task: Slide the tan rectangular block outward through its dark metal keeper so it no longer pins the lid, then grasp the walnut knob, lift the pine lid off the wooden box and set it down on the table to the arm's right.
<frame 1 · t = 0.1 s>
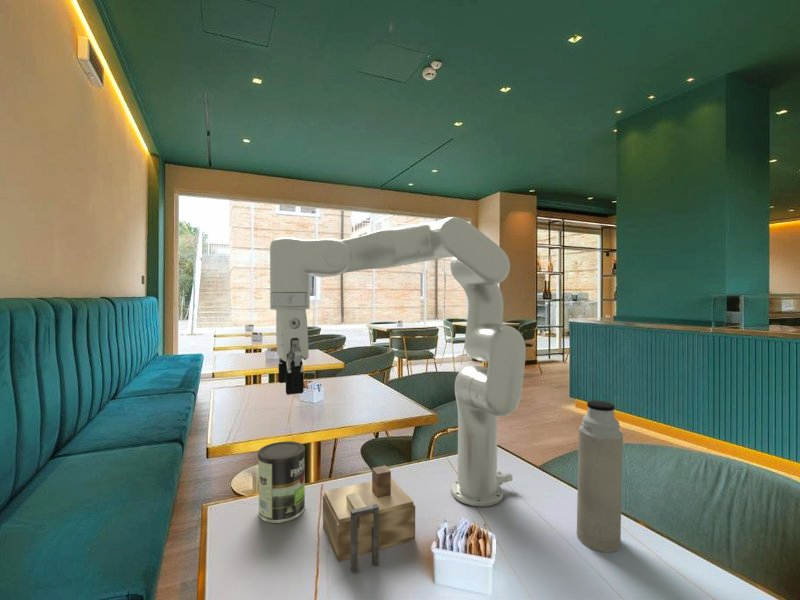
hand: (290, 387, 80), 31 cm above the table, fingers open, 9 cm apart
tan rectangular block: (358, 509, 76), point 9 cm above the table, slide at 0.0 cm
wooden box: (367, 533, 83), on the table
coffee can: (282, 511, 92), on the table
thermos bottle: (598, 540, 82), on the table
lid: (367, 499, 83), point 7 cm above the table, touching wooden box
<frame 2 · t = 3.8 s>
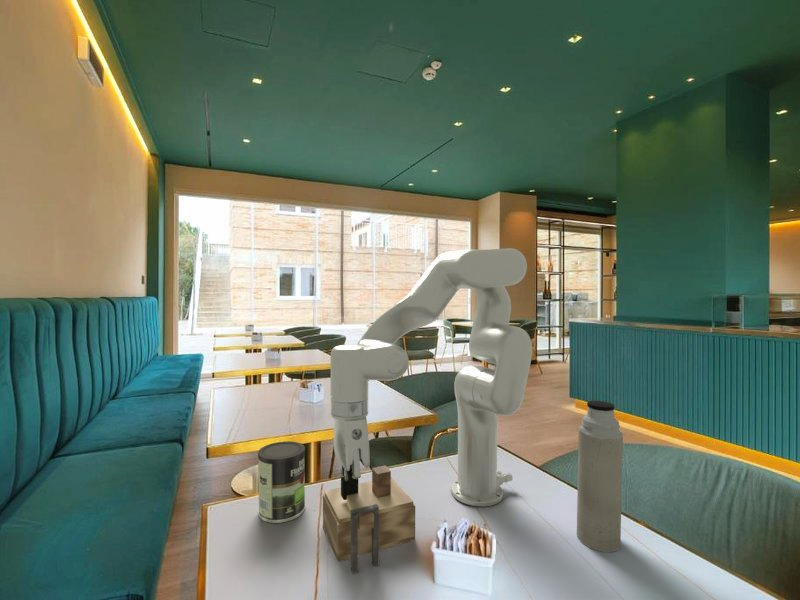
hand: (349, 496, 81), 9 cm above the table, fingers closed
tan rectangular block: (359, 510, 76), point 9 cm above the table, slide at 0.3 cm, touching gripper
everything else where it was.
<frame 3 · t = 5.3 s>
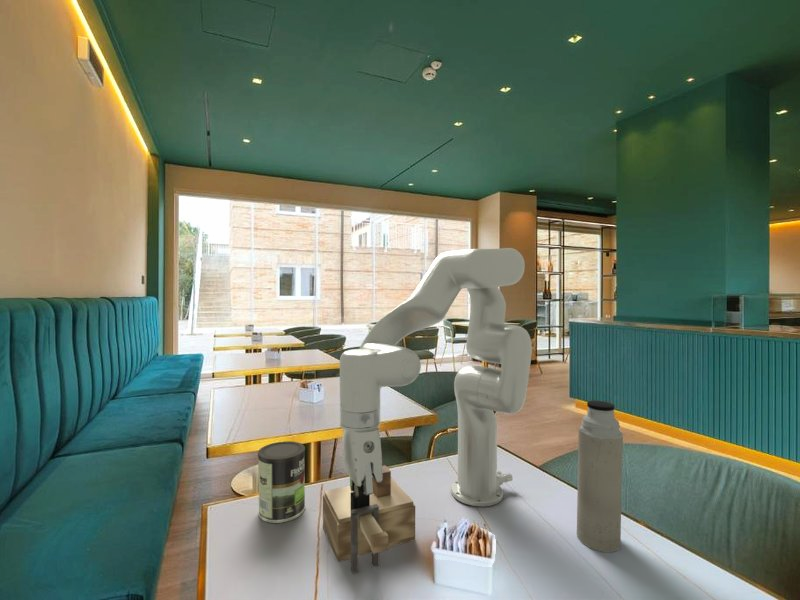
hand: (360, 513, 75), 9 cm above the table, fingers closed
tan rectangular block: (371, 529, 70), point 9 cm above the table, slide at 6.9 cm, touching gripper
everything else where it was.
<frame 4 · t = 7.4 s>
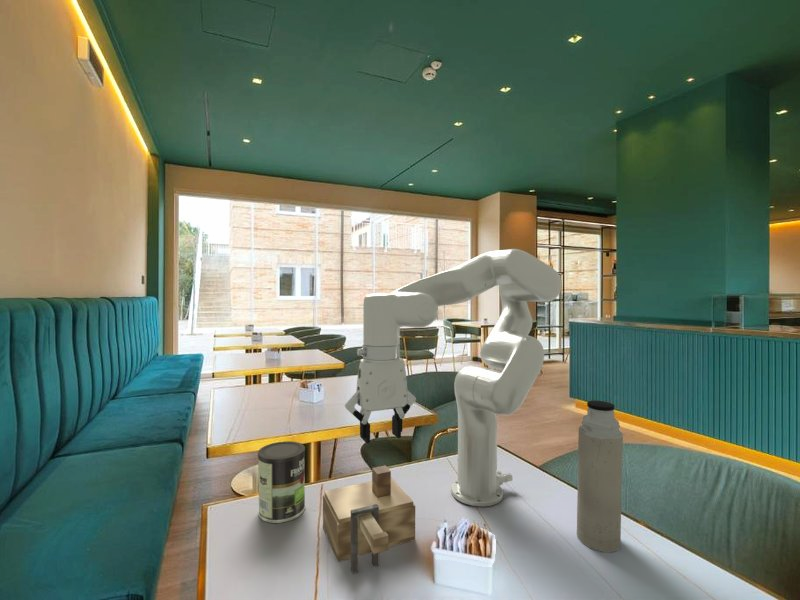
hand: (381, 437, 84), 20 cm above the table, fingers open, 6 cm apart
tan rectangular block: (371, 529, 70), point 9 cm above the table, slide at 6.9 cm
everything else where it was.
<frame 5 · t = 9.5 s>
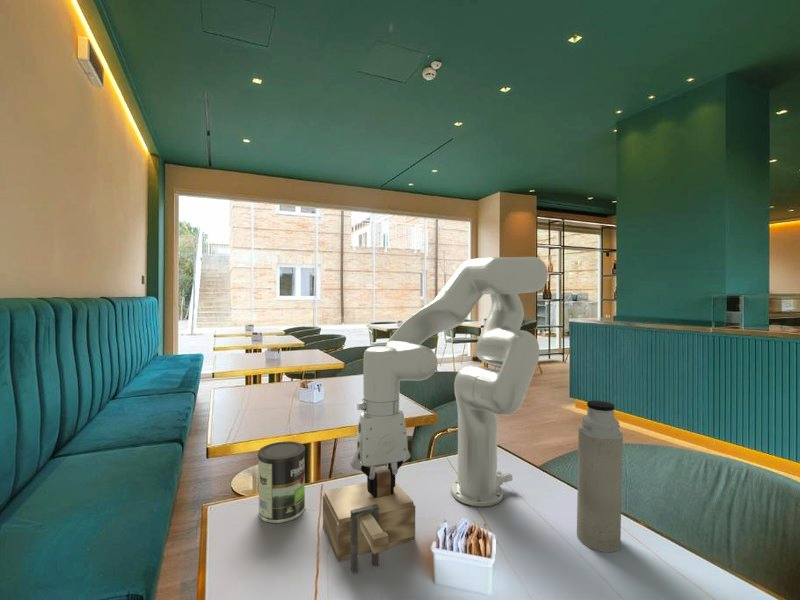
hand: (381, 492, 84), 8 cm above the table, fingers closed on lid, 3 cm apart
lid: (367, 499, 83), point 7 cm above the table, touching gripper, wooden box
everything else where it was.
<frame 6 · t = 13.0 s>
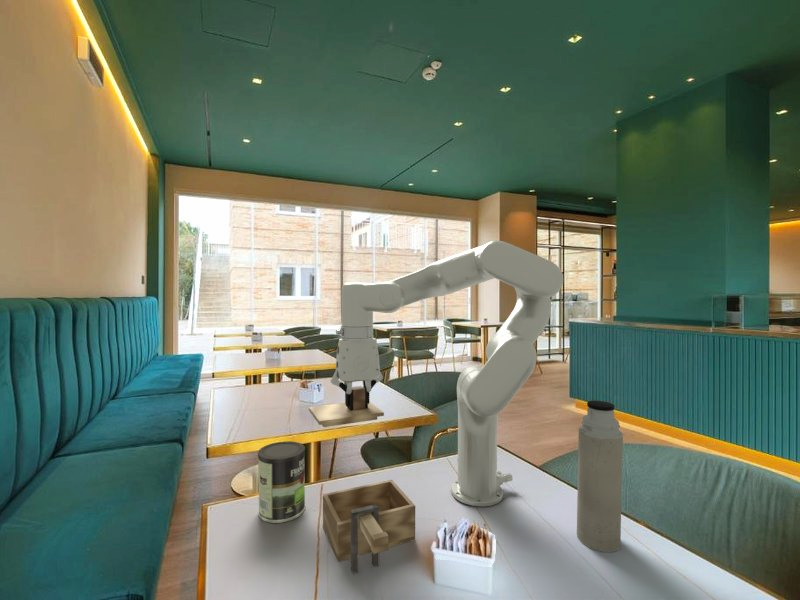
hand: (357, 407, 98), 22 cm above the table, fingers closed on lid, 3 cm apart
lid: (345, 413, 97), point 21 cm above the table, touching gripper
everything else where it was.
when the fingers open (4 cm above the table, at t = 16.5 s): lid drops 2 cm, point 1 cm above the table.
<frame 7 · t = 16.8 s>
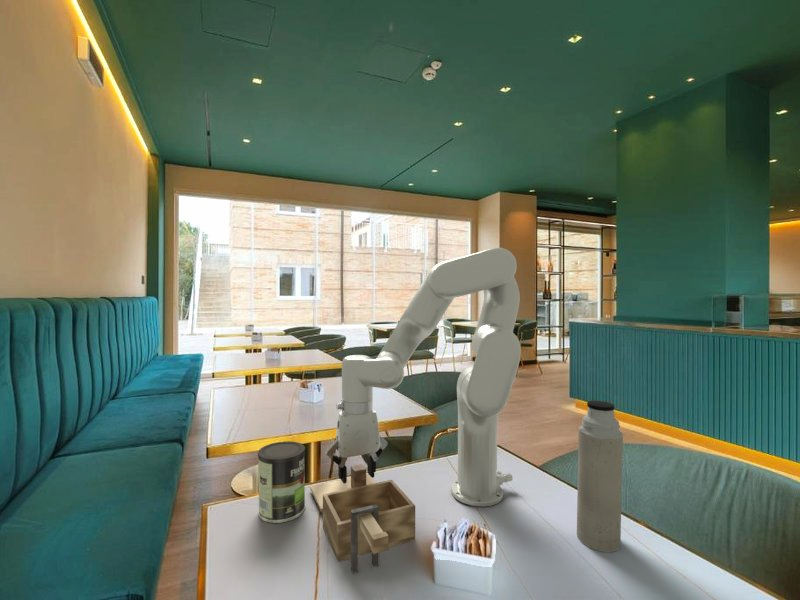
hand: (357, 477, 99), 4 cm above the table, fingers open, 6 cm apart
lid: (346, 493, 98), point 1 cm above the table
everything else where it was.
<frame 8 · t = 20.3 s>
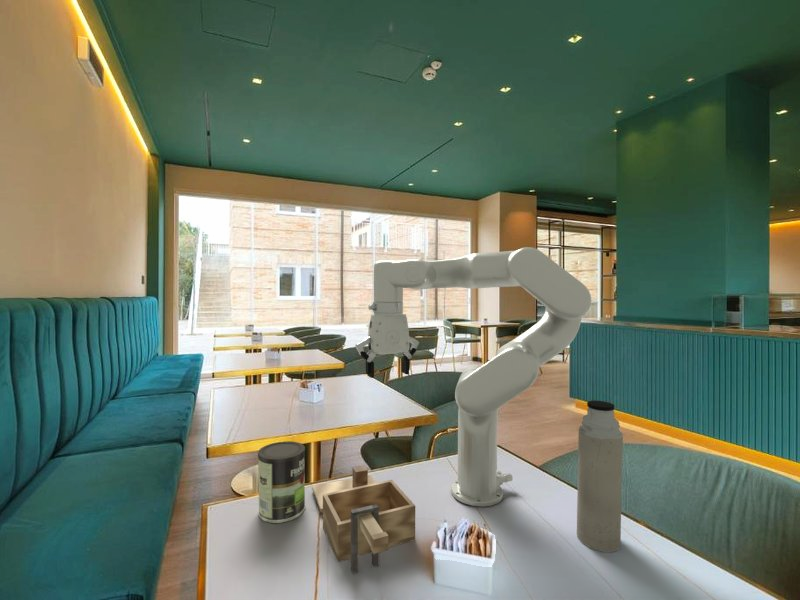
hand: (388, 375, 104), 28 cm above the table, fingers open, 9 cm apart
nothing on the table moved.
at the end: tan rectangular block slide at 6.9 cm; lid inside the target area (0.7 cm from its centre), point 0.7 cm above the table; lid tilted 0° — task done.
